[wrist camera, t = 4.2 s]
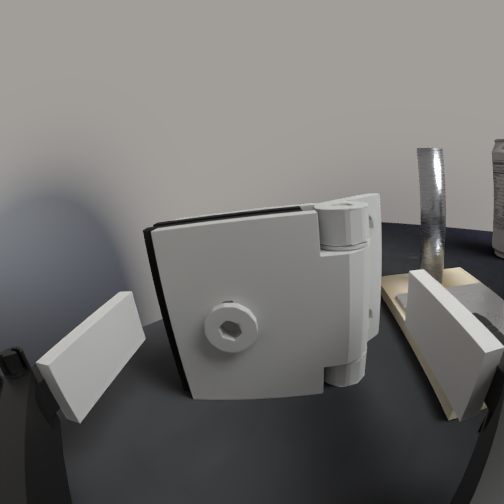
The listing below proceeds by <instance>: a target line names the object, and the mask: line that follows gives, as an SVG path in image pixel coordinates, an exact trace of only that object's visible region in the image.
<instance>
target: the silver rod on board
mask: <svg viewBox="0 0 504 504" xmlns="http://www.w3.org/2000/svg"><path fill="white" fill-rule="evenodd" d="M417 156H418V168H419V182H420V206H421V245H420V270H422V269H424V270H425V271H426V272H427V273H428V274H430V275H431V276H432V277H433V278H434V279H435V280H436V281H438V282H439V283H440V284H442V280H443V269H444V254H445V230H446V226H445V225H446V204H445V203H446V199H445V175H444V161H443V150H442V149H441V148H418V149H417ZM445 289H446V290H448V291H449V292H450V293H451V294H452V295H453V296H454V297H455V298H456V299H457V300H458V301H459V302H460V303H462V304H463V305H464V306H465V307H466V308H467V309H468V310H469V311H470V312H471V313H478V314H480V315H482V316H484V317H486V318H487V319H488V320H489V321H490V322H491V323H492V324H493V326H495V327H496V328H497V329H498V330H499V331H500V332H501V333H502V334H503V335H504V300H503V299H501V298H500V297H499V296H498V295H496V294H495V293H494V292H493V291H491V290H490V289H489V288H487V287H486V286H485V285H483V284H482V283H481V282H479V283H473V284H466V285H460V286H454V287H447V288H445ZM407 295H408V293H402V294H396V299H397V300H398V302H399V303H400V305H401V306H402V308H403V309H404V310H405V312H406V307H407Z"/></svg>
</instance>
